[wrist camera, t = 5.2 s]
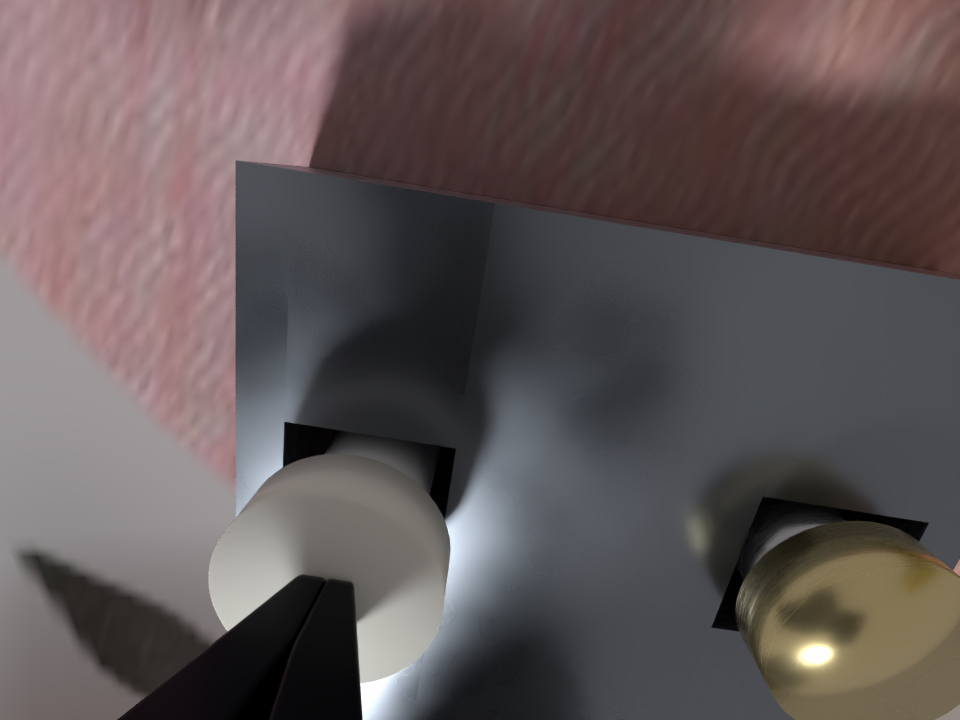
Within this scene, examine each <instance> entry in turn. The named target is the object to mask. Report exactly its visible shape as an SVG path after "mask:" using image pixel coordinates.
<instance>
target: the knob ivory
mask: <svg viewBox="0 0 960 720" xmlns="http://www.w3.org/2000/svg"><path fill="white" fill-rule="evenodd" d="M439 448H440V446H436V445H430V444H424V443H417V442H411V441H404V440H398V439H392V438H385V437H379V436H373V435H366V434H360V433H353V432H347V431H341V430H340V431H339V432H338V434H337V435H336V437H335V438H334V440H333V441H332V443H331V444H330V446H329V447H328V449H327V451H326V452H325V454H324V455H317V456H312V457H308V458H304V459H301V460H298V461H296V462H293V463H291V464H289V465H287V466H285V467H283V468H282V469H280V470H278V471H277V472H276V473H274V474H273V475H272V476H271V477H269V478H268V479H267V480H266V481H265V482H264V483H263V485H262V486H261V487H260V488H259V489H258V490H257V492H256V493H255V494H254V496H253V497H252V498H251V499H250V501H249V502H248V503H247V504H246V506H245V507H244V508H243V509H242V511H241V512H240V513H239V514H238V516H237V517H236V518H235V520H234V521H233V522H232V523H231V525H230V526H229V527H228V528H227V530H226V531H225V532H224V534H223V535H222V537H221V538H220V540H219V542H218V543H217V544H216V547H215V549H214V551H213V554H212V557H211V561H210V565H209V575H208V582H209V592H210V596H211V600H212V604H213V606H214V609H215V611H216V613H217V616H218V617H219V619H220V621H221V622H222V624H223V626H224V628H225V629H226V630H227V631H229V630H230V629H231V628H233V627H234V626H235V625H236V624H238V623H239V622H240V621H241V620H243V619H244V618H245V617H246V616H248V615H249V614H250V613H251V612H253V611H254V610H255V609H256V608H258V607H259V606H260V605H261V604H263V603H264V602H265V601H266V600H268V599H269V598H270V597H271V596H273V595H274V594H275V593H276V592H278V591H279V590H280V589H281V588H283V587H284V586H285V585H286V584H288V583H289V582H290V581H291V580H293V579H294V578H295V577H297V576H299V575H302V574H304V575H311V576H317V577H323V578H324V579H325V580H326V581H327V580H329V579H337V580H344V581H350V582H352V583H353V584H354V590H355V606H356V621H357V637H358V653H359V669H360V684H363V683H368V682H373V681H377V680H380V679H383V678H386V677H389V676H391V675H393V674H395V673H397V672H399V671H401V670H403V669H404V668H406V667H408V666H409V665H411V664H412V663H413V662H414V661H415V660H417V659H418V658H419V657H420V656H421V655H422V654H423V653H424V652H425V651H426V650H427V648H428V647H429V646H430V644H431V643H432V641H433V639H434V638H435V636H436V634H437V631H438V629H439V627H440V623H441V619H442V615H443V607H444V600H445V592H446V585H447V577H448V570H449V562H450V551H451V548H450V537H449V533H448V529H447V525H446V523H445V520H444V518H443V515H442V514H441V512H440V510H439V508H438V507H437V505H436V504H435V502H434V501H433V500H432V498H431V497H430V496H429V495H430V490H431V486H432V482H433V477H434V473H435V468H436V464H437V459H438V455H439Z"/></svg>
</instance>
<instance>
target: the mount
mask: <svg viewBox="0 0 960 720" xmlns="http://www.w3.org/2000/svg"><path fill="white" fill-rule="evenodd" d="M332 429H334V430H341V431H347V432H353V433H360V434H366V435H373V436H379V437H385V438H392V439H398V440H404V441H411V442H417V443H424V444H430V445H436V446H443V447H449V448H456V452H455V459H454V465H453V471H452V478H451V484H450V490H449V496H445V495H439V494H433V493H430V495H429V496H430V497H431V498H432V500H433V501H434V502H435V504H436V505H437V507H438V508H439V510H440V512H441V514H442V515H443V518H444V520H445V523H446V525H447V529H448V533H449V537H450V548H451V551H450V562H449V570H448V577H447V585H446V592H445V600H444V607H443V615H442V619H441V623H440V627H439V629H438V631H437V634H436V636H435V638H434V639H433V641H432V643H431V644H430V646H429V647H428V648H427V650H426V651H425V652H424V653H423V654H422V655H421V656H420V657H419V658H418V659H417V660H415V661H414V662H413V663H412V664H411V665H409V666H408V667H406V668H404V669H403V670H401V671H399V672H397V673H395V674H393V675H391V676H389V677H386V678H383V679H380V680H377V681H373V682H368V683H363V684H361V700H362V716H363V720H795V719H793V718H792V717H791V716H790V715H788V714H787V713H786V712H785V711H784V710H783V709H782V708H781V707H780V706H779V704H778V703H777V702H776V700H775V698H774V697H773V695H772V693H771V691H770V689H769V688H768V686H767V684H766V682H765V680H764V678H763V676H762V674H761V673H760V671H759V669H758V667H757V665H756V663H755V661H754V659H753V658H752V656H751V654H750V652H749V650H748V648H747V646H746V645H745V643H744V641H743V639H742V637H741V635H740V632H739V630H738V627H737V622H736V609H735V608H736V601H737V597H738V593H739V590H740V587H741V585H742V583H743V581H744V580H743V578H742V577H741V575H740V573H739V572H738V570H737V569H736V567H735V566H736V563H737V561H738V558H739V556H740V553H741V551H742V548H743V545H744V543H745V540H746V538H747V535H748V533H749V530H750V528H751V525H752V523H753V520H754V517H755V515H756V512H757V510H758V507H759V505H760V502H761V500H762V497H768V498H775V499H781V500H787V501H794V502H800V503H807V504H813V505H819V506H826V507H832V508H834V509H835V510H836V511H837V512H838V513H839V514H840V515H841V516H842V517H843V518H844V519H845V520H846V521H867V522H876V523H880V524H885V525H888V526H891V527H894V528H897V529H899V530H901V531H903V532H905V533H907V534H909V535H910V536H912V537H913V538H915V539H916V540H917V541H919V542H920V543H921V544H922V545H923V546H924V547H926V548H927V549H928V550H929V551H930V552H932V553H933V554H934V555H935V556H936V557H937V558H939V559H940V560H941V561H942V562H943V563H944V564H946V565H947V566H948V567H949V568H950V569H951V570H953V569H954V568H955V566H956V564H957V562H958V561H959V559H960V275H957V274H951V273H946V272H941V271H935V270H929V269H923V268H917V267H911V266H905V265H899V264H893V263H887V262H881V261H875V260H868V259H862V258H856V257H850V256H844V255H838V254H832V253H826V252H820V251H814V250H808V249H802V248H796V247H790V246H784V245H778V244H771V243H765V242H759V241H753V240H747V239H741V238H735V237H729V236H723V235H717V234H711V233H705V232H699V231H693V230H687V229H681V228H674V227H668V226H662V225H656V224H650V223H644V222H638V221H632V220H626V219H620V218H614V217H608V216H602V215H596V214H590V213H584V212H577V211H571V210H565V209H559V208H553V207H547V206H541V205H535V204H529V203H523V202H517V201H511V200H505V199H499V198H493V197H487V196H480V195H474V194H468V193H462V192H456V191H450V190H444V189H438V188H432V187H426V186H420V185H414V184H408V183H402V182H396V181H389V180H383V179H377V178H371V177H365V176H359V175H353V174H347V173H341V172H335V171H329V170H323V169H317V168H311V167H302V166H291V165H280V164H269V163H258V162H246V161H236V517H237V516H238V514H239V513H240V512H241V511H242V509H243V508H244V507H245V506H246V504H247V503H248V502H249V501H250V499H251V498H252V497H253V496H254V494H255V493H256V492H257V490H258V489H259V488H260V487H261V486H262V485H263V483H264V482H265V481H266V480H267V479H268V478H269V477H271V476H272V475H273V474H274V473H276V472H277V471H278V470H280V469H282V468H283V467H285V466H287V465H289V464H291V463H293V462H296V461H298V460H301V459H304V458H308V457H312V456H317V455H324V454H325V452H326V451H327V449H328V447H329V446H330V444H331V437H332Z"/></svg>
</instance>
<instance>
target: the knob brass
mask: <svg viewBox="0 0 960 720" xmlns="http://www.w3.org/2000/svg"><path fill="white" fill-rule="evenodd" d="M735 567H736V569H737V570H738V572H739V573H740V575H741V577H742V578H743V580H744V581H743V583H742V585H741V587H740V590H739V593H738V597H737V601H736V608H735V609H736V622H737V627H738V630H739V632H740V635H741V637H742V639H743V641H744V643H745V645H746V646H747V648H748V650H749V652H750V654H751V656H752V658H753V659H754V661H755V663H756V665H757V667H758V669H759V671H760V673H761V674H762V676H763V678H764V680H765V682H766V684H767V686H768V688H769V689H770V691H771V693H772V695H773V697H774V698H775V700H776V702H777V703H778V704H779V706H780V707H781V708H782V709H783V710H784V711H785V712H786V713H787V714H788V715H790V716H791V717H792V718H793V719H795V720H935V719H937V718H939V717H940V716H942V715H944V714H946V713H948V712H949V711H951V710H952V709H953V708H955V707H956V706H958V705H959V704H960V576H959V575H957V574H956V573H955V572H954V571H953V570H951V569H950V568H949V567H948V566H947V565H946V564H944V563H943V562H942V561H941V560H940V559H939V558H937V557H936V556H935V555H934V554H933V553H932V552H930V551H929V550H928V549H927V548H926V547H924V546H923V545H922V544H921V543H920V542H919V541H917V540H916V539H915V538H913V537H912V536H910V535H909V534H907V533H905V532H903V531H901V530H899V529H897V528H894V527H891V526H888V525H885V524H880V523H876V522H867V521H846V520H845V519H844V518H843V517H842V516H841V515H840V514H839V513H838V512H837V511H836V510H835V509H834V508H832V507H826V506H819V505H813V504H807V503H800V502H794V501H787V500H781V499H775V498H768V497H762V500H761V502H760V505H759V507H758V510H757V512H756V515H755V517H754V520H753V523H752V525H751V528H750V530H749V533H748V535H747V538H746V540H745V543H744V545H743V548H742V551H741V553H740V556H739V558H738V561H737V563H736V566H735Z"/></svg>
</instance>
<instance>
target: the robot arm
mask: <svg viewBox="0 0 960 720" xmlns="http://www.w3.org/2000/svg"><path fill="white" fill-rule="evenodd" d="M118 720H363V716H362V700H361V684H360V669H359V653H358V637H357V621H356V606H355V590H354V584H353V583H352V582H350V581H344V580H337V579H329V580H327V581H326V580H325V579H324V578H323V577H317V576H311V575H304V574H302V575H299V576H297V577H295V578H294V579H293V580H291V581H290V582H289V583H288V584H286V585H285V586H284V587H283V588H281V589H280V590H279V591H278V592H276V593H275V594H274V595H273V596H271V597H270V598H269V599H268V600H266V601H265V602H264V603H263V604H261V605H260V606H259V607H258V608H256V609H255V610H254V611H253V612H251V613H250V614H249V615H248V616H246V617H245V618H244V619H243V620H241V621H240V622H239V623H238V624H236V625H235V626H234V627H233V628H231V629H230V630H229V631H228V632H227V633H225V634H224V635H223V636H221V637H220V638H219V639H218V640H216V641H215V642H214V643H213V644H211V645H210V646H209V647H208V648H206V649H205V650H204V651H203V652H201V653H200V654H199V655H198V656H196V657H195V658H194V659H193V660H191V661H190V662H189V663H188V664H186V665H185V666H184V667H183V668H181V669H180V670H179V671H178V672H176V673H175V674H174V675H173V676H171V677H170V678H169V679H168V680H166V681H165V682H164V683H163V684H161V685H160V686H159V687H158V688H156V689H155V690H154V691H153V692H151V693H150V694H149V695H148V696H146V697H145V698H144V699H143V700H141V701H140V702H139V703H138V704H136V705H135V706H134V707H133V708H131V709H130V710H129V711H128V712H126V713H125V714H124V715H123V716H121V717H120V718H119V719H118Z"/></svg>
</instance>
